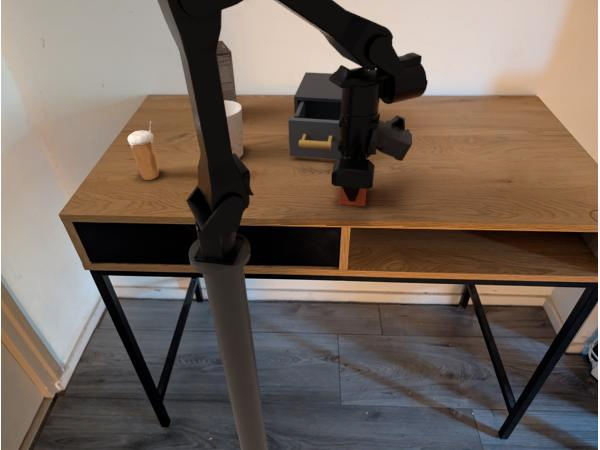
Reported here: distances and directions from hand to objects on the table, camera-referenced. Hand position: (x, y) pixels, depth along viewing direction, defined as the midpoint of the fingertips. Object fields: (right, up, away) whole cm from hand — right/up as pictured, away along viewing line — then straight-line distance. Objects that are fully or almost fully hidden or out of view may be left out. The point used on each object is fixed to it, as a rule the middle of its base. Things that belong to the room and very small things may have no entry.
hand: (353, 193), depth 76 cm
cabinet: (-3, +17, +23) cm, 29 cm away
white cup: (-24, +9, +14) cm, 30 cm away
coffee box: (-28, +21, +29) cm, 45 cm away
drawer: (-5, +11, +14) cm, 18 cm away
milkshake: (-38, +4, +8) cm, 39 cm away
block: (0, -1, +1) cm, 1 cm away
